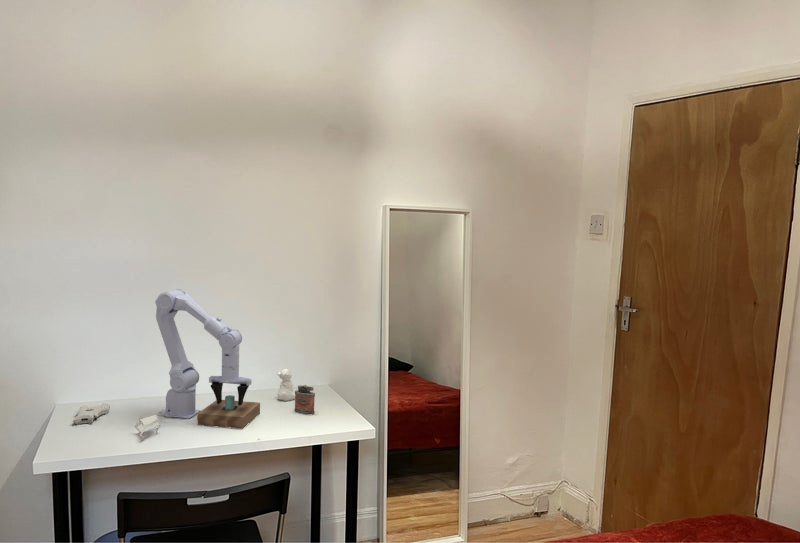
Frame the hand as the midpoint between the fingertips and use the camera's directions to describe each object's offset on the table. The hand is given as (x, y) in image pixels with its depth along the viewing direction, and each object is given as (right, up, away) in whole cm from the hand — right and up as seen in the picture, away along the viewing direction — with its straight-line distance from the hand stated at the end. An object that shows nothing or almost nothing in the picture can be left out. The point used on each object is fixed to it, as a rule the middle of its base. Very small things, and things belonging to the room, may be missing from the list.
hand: (229, 403), depth 207 cm
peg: (0, -5, 0) cm, 5 cm away
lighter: (+24, -6, +11) cm, 27 cm away
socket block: (0, -5, 0) cm, 5 cm away
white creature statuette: (+15, -4, +26) cm, 30 cm away
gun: (-47, -4, -2) cm, 47 cm away
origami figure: (-22, -7, -17) cm, 28 cm away
